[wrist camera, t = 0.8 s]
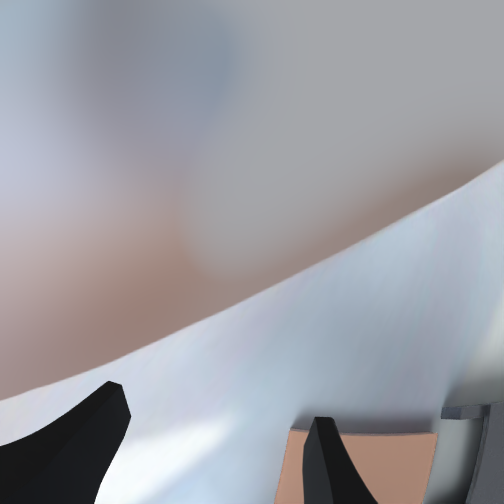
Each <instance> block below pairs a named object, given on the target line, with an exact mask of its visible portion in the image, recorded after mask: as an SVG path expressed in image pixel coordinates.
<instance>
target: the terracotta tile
mask: <svg viewBox="0 0 504 504" xmlns="http://www.w3.org/2000/svg"><path fill="white" fill-rule="evenodd" d="M309 431H310V430H303V429H294V428H290V431H289V436H288V441H287V446H286V451H285V456H284V461H283V466H282V471H281V475H280V480H279V484H278V489H277V493H276V497H275V501H274V504H304V493H303V476H302V463H303V446H304V443H305V441H306V439H307V436H308V434H309ZM339 435H340V437H341V439H342V442H343V444H344V446H345V448H346V450H347V452H348V454H349V456H350V458H351V460H352V462H353V464H354V466H355V468H356V470H357V471H358V473H359V475H360V477H361V478H362V480H363V482H364V483H365V485H366V486H367V488H368V490H369V491H370V493H371V494H372V495H373V497H374V498H375V500H376V501H377V502H378V504H422V502H423V499H424V495H425V491H426V488H427V484H428V480H429V476H430V471H431V467H432V462H433V458H434V453H435V447H436V442H437V436H438V433H433V432H416V433H389V434H368V433H340V432H339Z"/></svg>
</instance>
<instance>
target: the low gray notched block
mask: <svg viewBox="0 0 504 504" xmlns="http://www.w3.org/2000/svg"><path fill="white" fill-rule="evenodd" d="M479 417H484V423H483V430H482V436H481V442H480V447H479V452H478V457H477V461H476V466H475V470H474V474H473V478H472V482H471V485H470V489H469V492H468V496H467V499H466V502H465V504H504V401H503V402H497V403H489V404H481V405H472V406H461V407H447V408H442V414H441V419H456V420H462V419H471V418H479Z"/></svg>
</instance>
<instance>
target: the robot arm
mask: <svg viewBox="0 0 504 504" xmlns="http://www.w3.org/2000/svg"><path fill="white" fill-rule="evenodd" d="M130 419H131V414H130V411H129V408H128V404H127V401H126V398H125V394H124V391H123V387H122V385H121V384H117V383H114V382H111V381H107V382H106V383H105V384H103V385H102V386H101V387H99V388H98V389H97V390H96V391H94V392H93V393H92V394H91V395H89V396H88V397H87V398H85V399H84V400H83V401H82V402H80V403H79V404H78V405H76V406H75V407H74V408H72V409H71V410H70V411H68V412H67V413H65V414H64V415H62V416H61V417H59V418H58V419H56V420H55V421H53V422H52V423H50V424H49V425H47V426H45V427H44V428H42V429H40V430H38V431H36V432H34V433H32V434H30V435H28V436H26V437H24V438H22V439H19V440H17V441H14V442H12V443H9V444H6V445H3V446H0V504H94V502H95V499H96V496H97V493H98V490H99V487H100V485H101V482H102V480H103V478H104V476H105V474H106V472H107V470H108V468H109V466H110V464H111V462H112V460H113V458H114V456H115V454H116V452H117V450H118V448H119V446H120V444H121V442H122V440H123V438H124V436H125V433H126V431H127V428H128V425H129V422H130ZM302 476H303V493H304V504H378V502H377V501H376V500H375V498H374V497H373V495H372V494H371V493H370V491H369V490H368V488H367V486H366V485H365V483H364V482H363V480H362V478H361V477H360V475H359V473H358V471H357V470H356V468H355V466H354V464H353V462H352V460H351V458H350V456H349V454H348V452H347V450H346V448H345V446H344V444H343V442H342V439H341V437H340V435H339V432H338V430H337V427H336V425H335V422H334V419H333V418H332V417H315V418H314V421H313V423H312V426H311V429H310V431H309V434H308V436H307V439H306V441H305V443H304V446H303V463H302Z"/></svg>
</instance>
